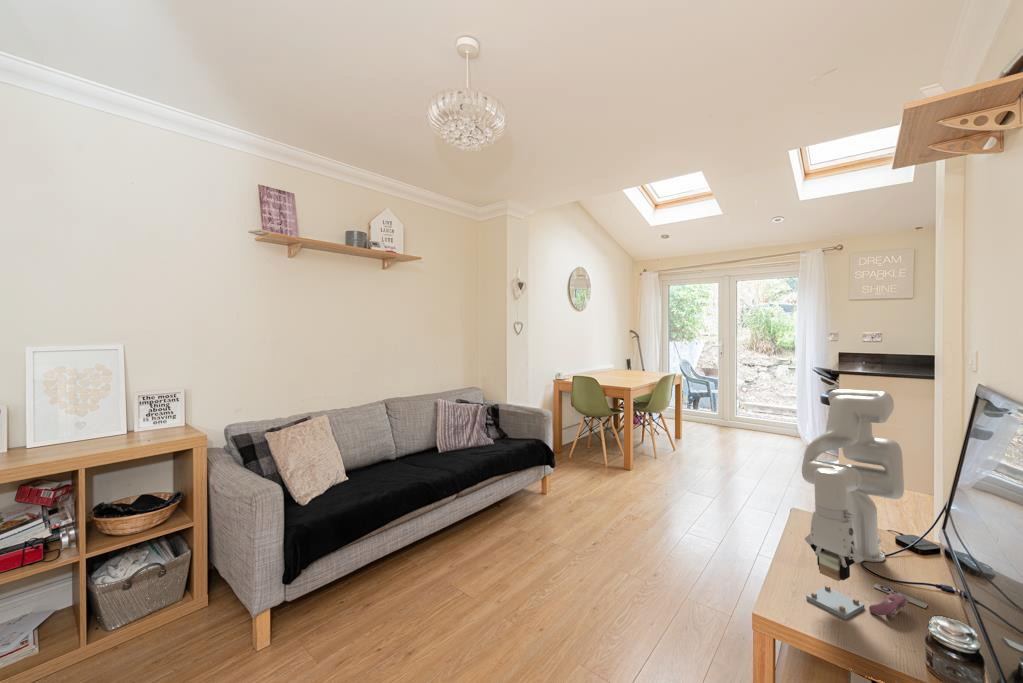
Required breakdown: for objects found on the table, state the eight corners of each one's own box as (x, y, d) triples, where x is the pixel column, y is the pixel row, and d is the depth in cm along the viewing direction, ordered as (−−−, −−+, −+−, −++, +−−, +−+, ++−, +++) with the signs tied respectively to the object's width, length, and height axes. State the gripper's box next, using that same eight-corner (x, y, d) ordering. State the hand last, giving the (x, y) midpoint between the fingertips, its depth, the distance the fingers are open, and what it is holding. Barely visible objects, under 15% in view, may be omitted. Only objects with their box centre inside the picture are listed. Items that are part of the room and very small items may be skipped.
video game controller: (884, 625, 111) (898, 609, 108) (866, 609, 114) (878, 593, 112) (902, 615, 115) (916, 599, 112) (884, 599, 119) (896, 584, 116)
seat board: (825, 590, 125) (825, 582, 125) (864, 608, 116) (864, 600, 116) (806, 599, 120) (806, 592, 120) (845, 619, 111) (845, 611, 111)
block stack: (828, 568, 121) (828, 548, 121) (847, 576, 117) (846, 556, 117) (819, 572, 119) (818, 552, 119) (838, 581, 115) (837, 560, 115)
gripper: (873, 520, 112) (876, 585, 112) (807, 500, 128) (809, 557, 127) (859, 525, 109) (861, 593, 109) (793, 504, 124) (795, 563, 124)
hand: (833, 573), depth 118 cm, fingers closed on block stack, 4 cm apart
